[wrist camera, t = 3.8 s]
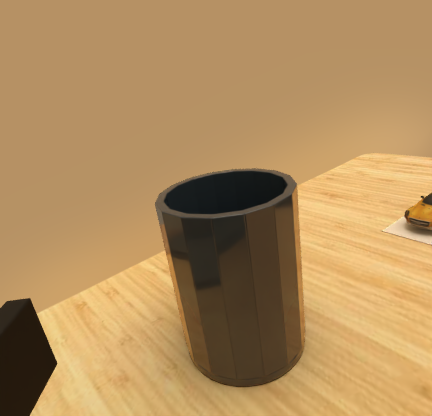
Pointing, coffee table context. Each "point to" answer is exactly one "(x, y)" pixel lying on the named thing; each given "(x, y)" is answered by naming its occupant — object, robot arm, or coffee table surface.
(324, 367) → the coffee table surface
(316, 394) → the coffee table surface
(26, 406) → the robot arm
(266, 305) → the cup
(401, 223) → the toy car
